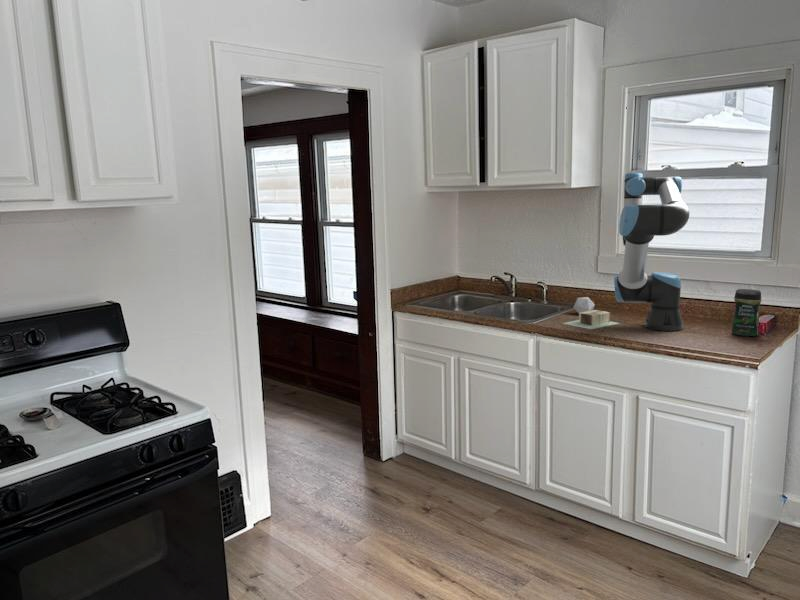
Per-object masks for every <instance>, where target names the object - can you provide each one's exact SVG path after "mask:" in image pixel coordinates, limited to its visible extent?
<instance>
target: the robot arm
mask: <svg viewBox="0 0 800 600" xmlns="http://www.w3.org/2000/svg"><path fill="white" fill-rule="evenodd" d="M682 179H683V178H681V176H673V175H671V176H646V177H645V176H644V175H643V173H641V172H629V173H628V172H627V173H625V175H624V182H623V183H624V186H623V187H624V189H623V193H624V194H623V208H622V209H621V210H622V211H621V213H620V220H619V225H618V226H619V227H618V228H619V229H618V230H619V235H620V236H622V242H623V243H622V244H623V246H624V255H623V263H622V266H623V267H622V269H621V271H620V272H619V273H618V274H617V275H614V279H613V280H614V281H613V282H614V283H613V285H614V297H615V300H616V301H617V302H618V303H624V304H627V303H630V304H631V303H632V304H633V303H634V304H635V303H638V304H639V303H642V304H649V306H650V307H649V311H648V314H647V316H646V319H645V321H644V327H645V328H646V329H649V330H653V331H663V332H672V331H673V332H675V331H676V332H677V331H681V330H683V329H684V322H683V318H682V315H681V311H680V306H681V289H682V280H681V277H680V276H678V275H677V274H676V275H675V274H672V273H670V272H669V273H668V272H661V271H653V272H651V275H647V273H646V272H645V270H646V264H647V258H648V257H647V256H648V251H649V244H650V243H651V242H652V241H653V239H654V237H655V236H658V237H660V236H661V237H662V236H663V237H665V236H669V235H674V234H675V233H677V232H679V231H680V230H681V229H683V228H684V227H685V226H686V224H687V223H688V221H689V219H690V209H689V207H688V205H687V204H686V203H685V202H684V201H683V199H682V196H681V193H682V188H683V181H682ZM651 195H652V196H659V199H660V203H661V204H642V202H643V198H642V197H643V196H651Z"/></svg>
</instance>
